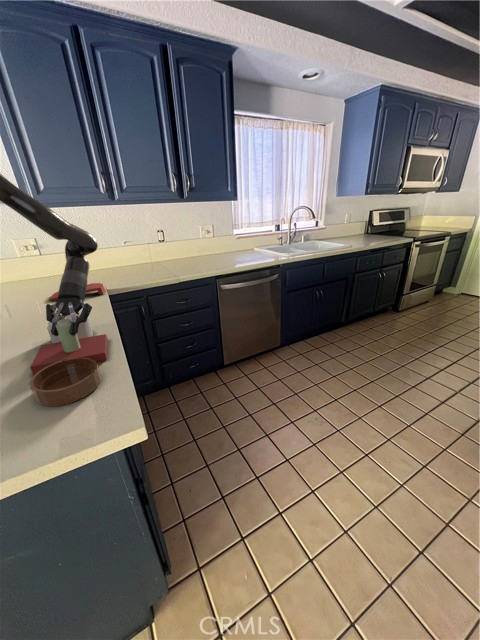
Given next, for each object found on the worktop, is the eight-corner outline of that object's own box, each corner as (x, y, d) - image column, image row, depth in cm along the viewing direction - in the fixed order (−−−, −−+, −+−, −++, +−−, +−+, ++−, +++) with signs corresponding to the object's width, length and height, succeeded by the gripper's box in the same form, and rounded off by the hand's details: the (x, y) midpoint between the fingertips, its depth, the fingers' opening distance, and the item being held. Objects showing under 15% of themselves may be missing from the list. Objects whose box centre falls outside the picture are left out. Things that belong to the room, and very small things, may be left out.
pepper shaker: (62, 353, 84) (53, 325, 80) (65, 346, 88) (56, 319, 84) (79, 350, 86) (71, 322, 82) (81, 343, 90) (73, 317, 86)
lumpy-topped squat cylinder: (54, 336, 101) (47, 315, 98) (92, 328, 107) (87, 309, 103) (52, 348, 93) (44, 326, 89) (93, 339, 99) (87, 318, 95)
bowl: (28, 415, 64) (21, 399, 62) (43, 378, 77) (38, 364, 75) (99, 397, 70) (95, 382, 68) (102, 366, 83) (98, 352, 81)
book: (33, 375, 79) (29, 367, 78) (43, 352, 90) (40, 345, 89) (106, 360, 86) (104, 352, 85) (107, 341, 98) (106, 333, 96)
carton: (53, 307, 138) (102, 295, 144) (48, 299, 136) (99, 286, 142) (59, 300, 149) (105, 288, 154) (55, 292, 146) (102, 280, 152)
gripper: (44, 281, 85) (31, 332, 79) (89, 280, 85) (80, 330, 79) (58, 292, 92) (48, 339, 86) (100, 291, 92) (92, 337, 86)
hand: (63, 334), depth 83 cm, fingers closed on pepper shaker, 5 cm apart
